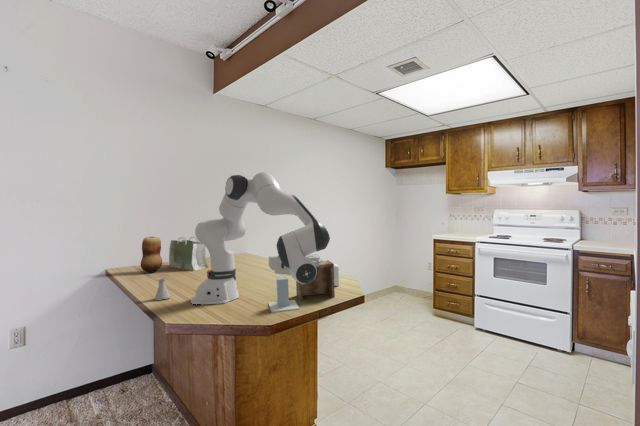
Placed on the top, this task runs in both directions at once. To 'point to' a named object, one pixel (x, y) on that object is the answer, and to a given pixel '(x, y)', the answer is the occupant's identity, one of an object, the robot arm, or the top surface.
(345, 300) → the top surface
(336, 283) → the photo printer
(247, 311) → the top surface
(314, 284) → the shelf cubby
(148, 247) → the butternut squash
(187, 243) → the grocery bag
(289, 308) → the plate
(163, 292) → the flask
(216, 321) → the top surface
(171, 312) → the top surface
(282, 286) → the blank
